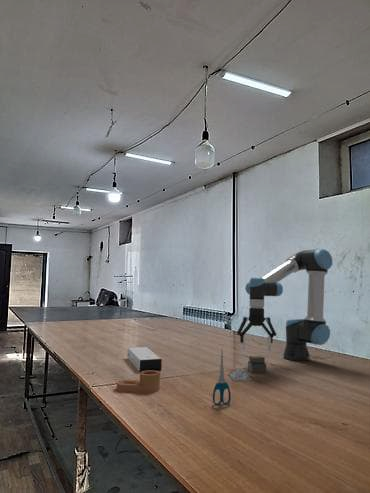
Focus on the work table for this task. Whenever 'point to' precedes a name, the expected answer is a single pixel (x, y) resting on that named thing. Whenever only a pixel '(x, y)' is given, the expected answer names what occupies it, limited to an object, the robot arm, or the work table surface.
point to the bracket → (141, 383)
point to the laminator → (144, 359)
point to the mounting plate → (239, 375)
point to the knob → (257, 364)
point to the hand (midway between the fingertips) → (256, 349)
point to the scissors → (221, 385)
